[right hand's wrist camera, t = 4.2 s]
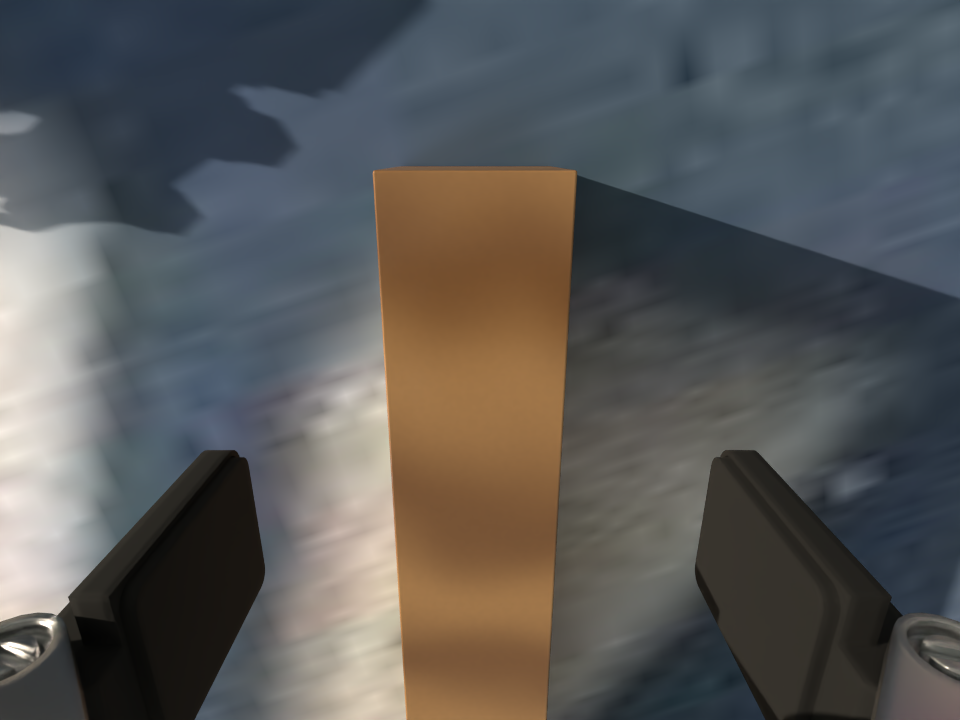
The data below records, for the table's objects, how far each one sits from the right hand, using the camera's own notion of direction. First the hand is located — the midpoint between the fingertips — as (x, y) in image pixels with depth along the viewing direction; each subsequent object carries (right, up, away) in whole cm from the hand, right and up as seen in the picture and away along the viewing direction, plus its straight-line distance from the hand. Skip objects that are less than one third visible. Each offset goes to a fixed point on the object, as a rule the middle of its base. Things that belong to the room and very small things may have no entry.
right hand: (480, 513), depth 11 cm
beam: (0, -25, +22) cm, 33 cm away
